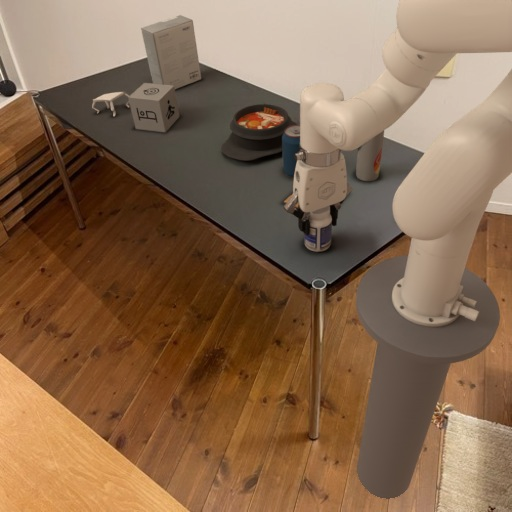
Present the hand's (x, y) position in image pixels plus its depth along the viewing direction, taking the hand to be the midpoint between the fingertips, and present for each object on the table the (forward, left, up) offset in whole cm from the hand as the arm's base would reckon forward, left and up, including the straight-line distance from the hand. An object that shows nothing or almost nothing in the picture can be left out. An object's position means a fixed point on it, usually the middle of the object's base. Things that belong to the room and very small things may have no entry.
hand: (317, 226), depth 107 cm
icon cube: (+70, -22, -5) cm, 74 cm away
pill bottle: (0, 0, -5) cm, 5 cm away
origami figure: (+88, -21, -5) cm, 91 cm away
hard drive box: (+84, -46, -5) cm, 96 cm away
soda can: (+19, -21, -5) cm, 29 cm away
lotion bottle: (+3, -29, -5) cm, 30 cm away
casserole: (+35, -28, -5) cm, 45 cm away
